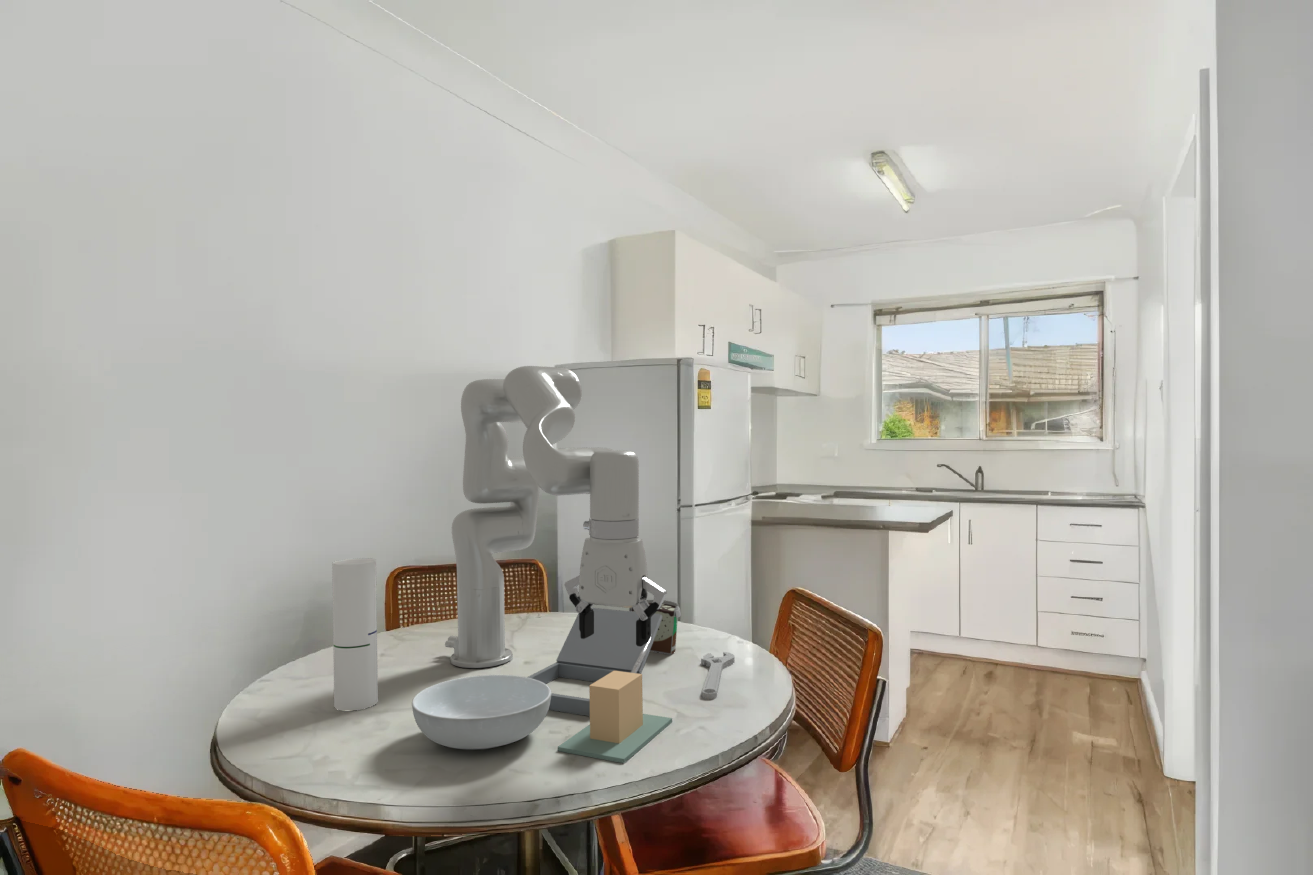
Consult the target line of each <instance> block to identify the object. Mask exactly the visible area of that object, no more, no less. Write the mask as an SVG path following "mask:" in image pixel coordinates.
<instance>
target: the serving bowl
mask: <svg viewBox="0 0 1313 875" xmlns="http://www.w3.org/2000/svg"><path fill="white" fill-rule="evenodd" d="M527 677H528V676H527ZM527 677H526V676H521V675H512V674H484V675H483V674H482V675H472V676H465V677H459V678H454V679H450V680H446V681H441V682H438V683H436V684H433V685H430V686H429V687H426V688H424V689H422V690H421V691H420V692H418V693H417V694H415V696H414V697H413V698H412V702H411V708H412V714H413V718H414V721H415V723H416V725H417V727H418V729H419V730H420V732H422V734H423V735H425V737H426V738H428V739H429V740H430V741H432V742H434V743H436V744H438V745H442V746H445V747H448V748H451V749H459V750H487V749H492V748H497V747H502V746H505V745H509V744H513V743H514V742H517V741H519V740H522V739H524V738H526V737H528V735H530V734H531V733H533V732H534V731H535V730H536V729H538V728H539V726H540V725H541V724H542V722H543V721H544V720H545V719H546V716H547V714H548V712H549V710H548V709H549V705H550V700H551V693H552V690H551V687H549V685H547V684H544V683H543V682H541V681H538V680H535V679H532V678H527Z"/></svg>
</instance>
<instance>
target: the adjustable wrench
mask: <svg viewBox="0 0 1313 875" xmlns="http://www.w3.org/2000/svg"><path fill="white" fill-rule="evenodd" d="M735 662H736V661H735V655H734V654H733V653H731V652H727V651H723V653H722V656H714V655H713V654H712V653H706V654H704V655H703V657H702V658H700V664H702V666H705V667H707V668H709V670H708V673H707V675H706V679H705V681H704V684H703V686H702V690H701V697H702V699H705V698H706V699H705V700H714V699H716V698H718V694H719V689H720V688H719V687H720V684H721V683H720V682H721V679H722V678H721V677H722V672H723V670H725V669H726V668H728V667H730V666H731V664H732V665H734V664H735ZM733 663H734V664H733ZM729 665H730V666H729ZM727 666H728V667H727ZM717 693H718V694H717ZM713 698H714V699H713Z"/></svg>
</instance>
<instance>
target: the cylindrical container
mask: <svg viewBox="0 0 1313 875" xmlns="http://www.w3.org/2000/svg"><path fill="white" fill-rule="evenodd" d="M331 564H332V565H331V566H332V568H331V569H332V570H331V572H332V573H331V574H332V577H331V578H332V630H333V631H332V638H333V639H332V645H333V646H332V647H333V652H332V653H333V697H334V698H333V708H334V707H335V708H336V709H338V710H337V711H339V710H357V711H361V710H360V709H363V710H365V709H364V708H367V707H370V706H372V707H374V706H376V705H377V704H378V703H379V691H378V690H379V687H378V686H379V684H378V681H379V680H378V679H379V675H378V674H379V673H378V672H379V668H378V623H377V622H378V613H377V608H378V607H377V605H378V604H377V600H378V599H377V597H378V596H377V595H378V594H377V559H376V558H373V557H372V558H371V557H370V558H369V557H357V558H345V559H339V560H334V561H333V562H332V563H331ZM377 702H378V703H377ZM376 703H377V704H376ZM375 704H376V705H375ZM373 705H374V706H373ZM335 708H334V709H335ZM370 708H371V707H370ZM336 709H335V710H336ZM367 709H368V708H367Z"/></svg>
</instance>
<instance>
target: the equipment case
mask: <svg viewBox="0 0 1313 875" xmlns="http://www.w3.org/2000/svg"><path fill="white" fill-rule="evenodd" d="M591 609H593V611H594V634H593V635H591V636H589V637H587V638H585V639H581V637H580V630H579V613H578V612H577V616H576V618H575V619H574V622H573V623H572V624H573V625H572V626H571V627H570V630H569V632H568V634H567V636H566V639H565V641H564V643H563V645H562V647H561V649H560V651H559V653H558V656H557V658H556V660H555V661H556V662H554V663H552V664H550V665H548V666H546V667H544V668H542V669H541V670H538V671H537V672H535V673H533V674H531V675H529V676H527V678H532V679H535V680H538V681H541V682H543V683H544V684H546V685H547V684H548V683H550V682H553V681H554V680H555V679H557V678H565V679H572V680H578V681H580V680H581V681H587V682H593V683H594V682H596V681H598V680H599V679H601V678H603V677H604V676H606V675H608V674H609V673H611V672H613V671H622V672H629V673H637V674H642V672H643V670H644V667H645V664H646V662H647V659H648V657H649V655H650V652H651V651H650V649H651V646H652V644H653V641H654V638H655V636H656V633H657V630H658V628H659V625H660V622H661V620H662V615H661V614H654V615H653V616H652V617H651V637H650V639H649V641H648V643H646V644H644V645H643V646H641V647H640V646H637V645H636V621H637V620H638V619H639V616H638V615H637V614H636V612H632V611H629V610H620V609H609V608H597V607H591ZM553 710H554V711H555V712H559V711H560V713H561V712H562V713H567V714H573V715H580V716H584V715H588V716H587V717H590V698H587V697H580V696H574V695H566V694H559V693H552V692H551V700H550V705H549V709H548V711H553Z"/></svg>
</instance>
